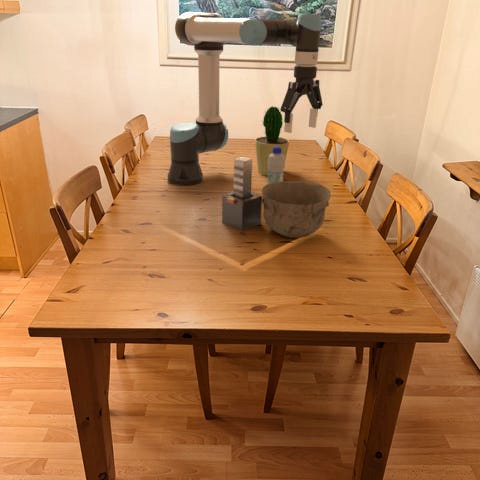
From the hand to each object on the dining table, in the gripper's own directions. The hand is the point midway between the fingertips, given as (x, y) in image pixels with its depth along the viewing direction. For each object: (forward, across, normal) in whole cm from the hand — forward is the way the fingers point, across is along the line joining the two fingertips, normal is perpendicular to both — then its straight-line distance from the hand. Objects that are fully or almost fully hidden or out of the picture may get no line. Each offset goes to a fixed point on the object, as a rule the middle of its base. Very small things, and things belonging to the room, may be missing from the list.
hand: (300, 129), depth 159 cm
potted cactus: (+28, +23, +33) cm, 49 cm away
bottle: (+28, 0, +10) cm, 30 cm away
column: (+27, -30, -2) cm, 40 cm away
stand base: (+28, -30, -2) cm, 41 cm away
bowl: (+28, -22, -17) cm, 39 cm away
